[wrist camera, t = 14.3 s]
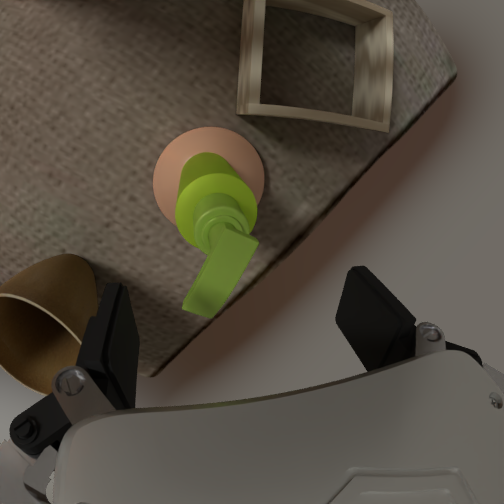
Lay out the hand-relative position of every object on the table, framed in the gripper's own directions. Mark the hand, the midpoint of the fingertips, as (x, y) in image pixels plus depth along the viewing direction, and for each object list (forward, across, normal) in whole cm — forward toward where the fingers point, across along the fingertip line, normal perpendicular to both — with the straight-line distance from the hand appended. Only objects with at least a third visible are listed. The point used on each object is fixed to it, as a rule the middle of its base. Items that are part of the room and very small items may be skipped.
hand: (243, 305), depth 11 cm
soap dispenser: (+23, 0, 0) cm, 23 cm away
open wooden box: (+24, -12, -15) cm, 31 cm away
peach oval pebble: (+24, 0, +1) cm, 24 cm away
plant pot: (+24, +20, +13) cm, 34 cm away
